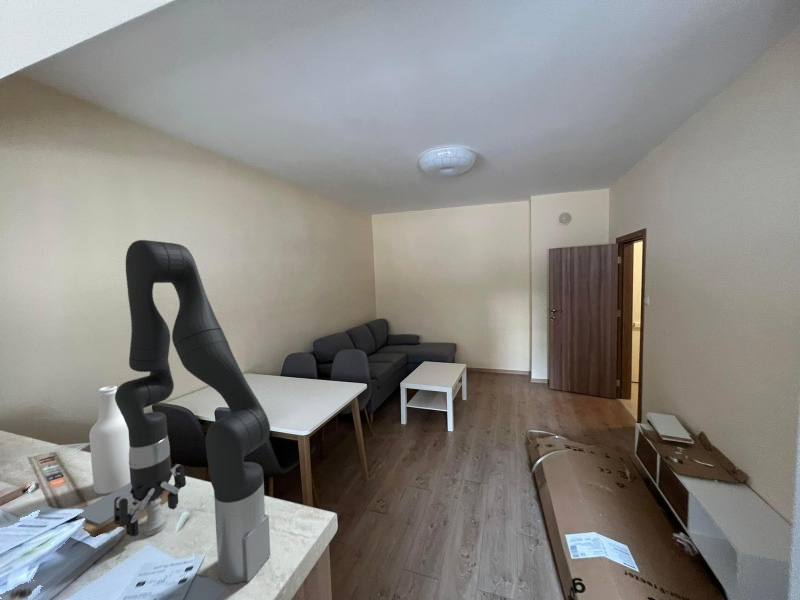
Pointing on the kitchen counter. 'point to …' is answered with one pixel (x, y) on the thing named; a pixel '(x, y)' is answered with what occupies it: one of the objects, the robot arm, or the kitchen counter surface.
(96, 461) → the alcohol
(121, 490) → the slate mat
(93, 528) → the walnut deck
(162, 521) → the rook chess piece
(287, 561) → the kitchen counter surface
